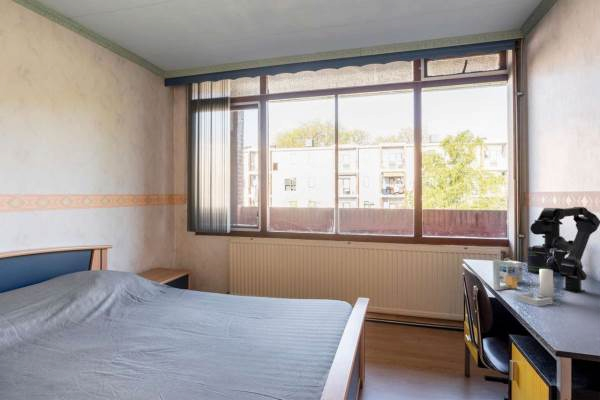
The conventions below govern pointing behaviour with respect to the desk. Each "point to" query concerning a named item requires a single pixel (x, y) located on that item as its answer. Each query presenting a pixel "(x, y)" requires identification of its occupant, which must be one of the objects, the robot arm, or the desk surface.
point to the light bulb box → (511, 271)
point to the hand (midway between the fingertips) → (552, 266)
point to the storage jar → (533, 262)
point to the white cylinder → (546, 284)
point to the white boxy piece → (510, 279)
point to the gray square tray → (533, 299)
